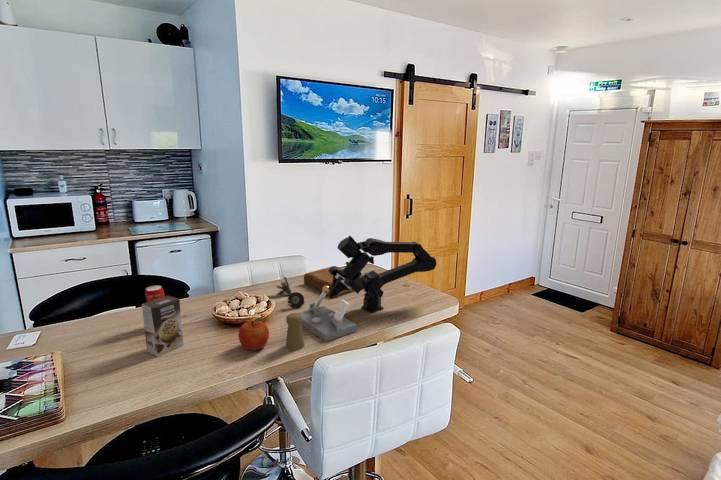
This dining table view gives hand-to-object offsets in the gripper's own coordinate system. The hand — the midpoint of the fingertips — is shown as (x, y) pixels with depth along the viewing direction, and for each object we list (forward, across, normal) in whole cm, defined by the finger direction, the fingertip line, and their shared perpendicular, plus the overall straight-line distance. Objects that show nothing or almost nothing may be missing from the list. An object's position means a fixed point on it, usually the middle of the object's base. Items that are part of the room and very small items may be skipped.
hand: (329, 297), depth 154 cm
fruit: (+28, -12, +17) cm, 35 cm away
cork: (+20, -17, +8) cm, 27 cm away
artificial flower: (+12, +24, 0) cm, 27 cm away
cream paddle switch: (+6, -14, 0) cm, 15 cm away
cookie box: (+46, 0, +35) cm, 58 cm away
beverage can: (+47, +18, +36) cm, 61 cm away
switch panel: (+9, -7, -2) cm, 11 cm away
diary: (-5, +30, -17) cm, 35 cm away
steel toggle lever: (+8, 0, +2) cm, 8 cm away
